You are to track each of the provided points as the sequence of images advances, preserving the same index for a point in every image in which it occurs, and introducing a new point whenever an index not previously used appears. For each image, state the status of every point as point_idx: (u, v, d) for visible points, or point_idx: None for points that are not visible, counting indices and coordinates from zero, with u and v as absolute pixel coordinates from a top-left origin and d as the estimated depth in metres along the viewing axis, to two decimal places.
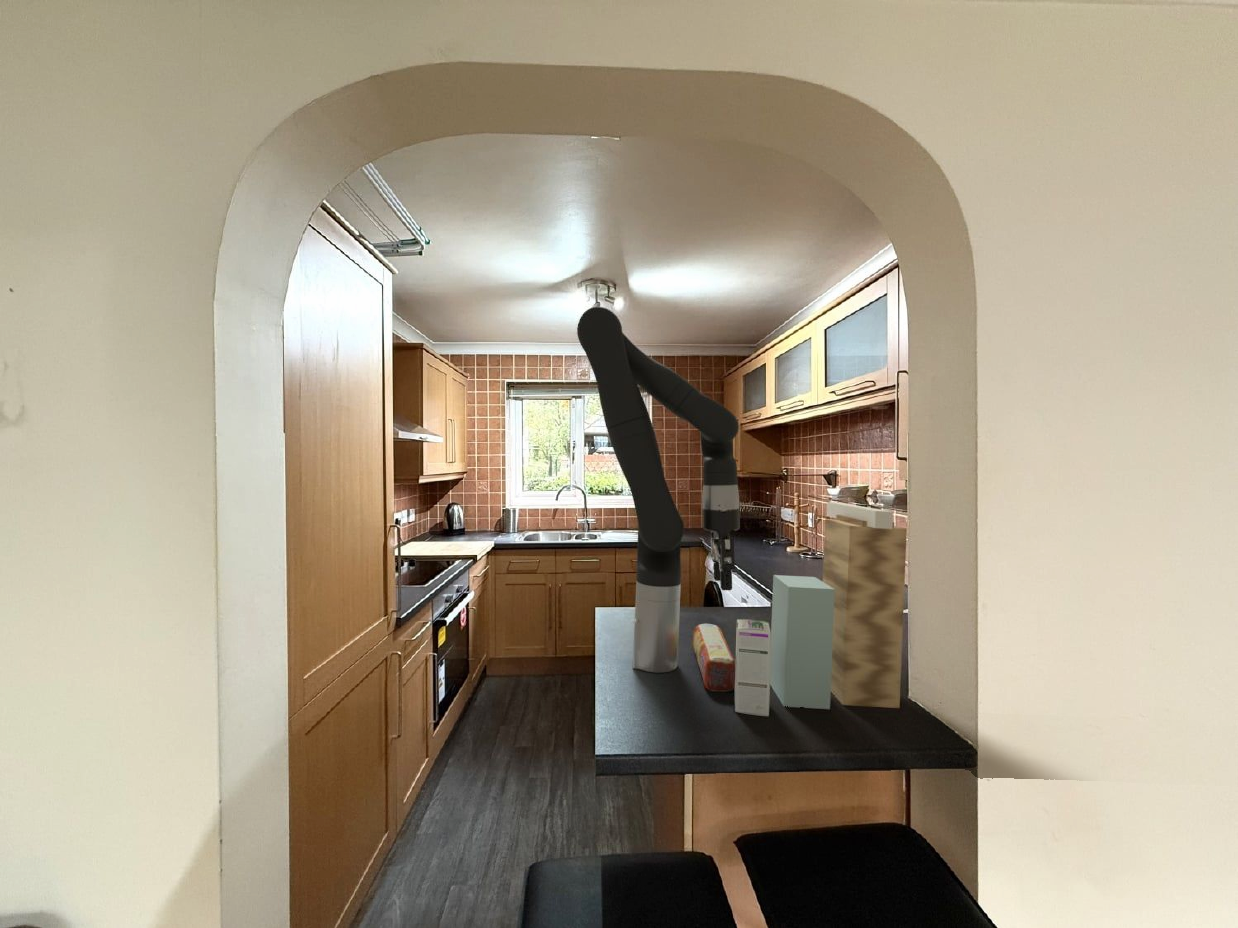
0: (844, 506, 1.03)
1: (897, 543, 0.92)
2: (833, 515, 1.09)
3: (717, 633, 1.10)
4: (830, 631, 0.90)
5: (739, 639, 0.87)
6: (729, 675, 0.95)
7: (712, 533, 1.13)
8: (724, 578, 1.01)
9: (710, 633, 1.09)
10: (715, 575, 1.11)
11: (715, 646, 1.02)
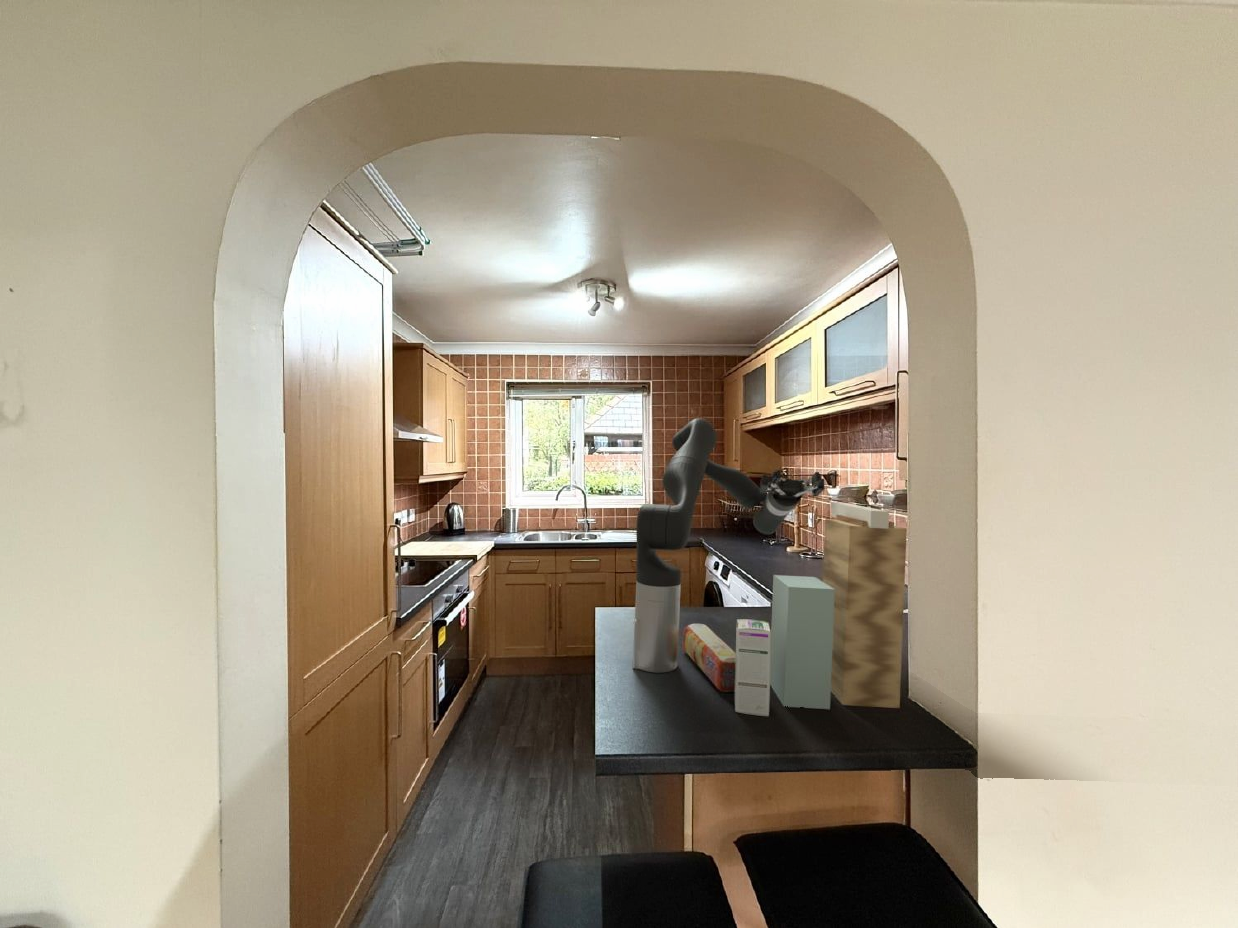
0: (845, 506, 1.04)
1: (897, 543, 0.92)
2: None
3: (711, 632, 1.10)
4: (830, 631, 0.90)
5: (739, 639, 0.87)
6: None
7: None
8: None
9: (706, 633, 1.09)
10: None
11: (719, 646, 1.02)
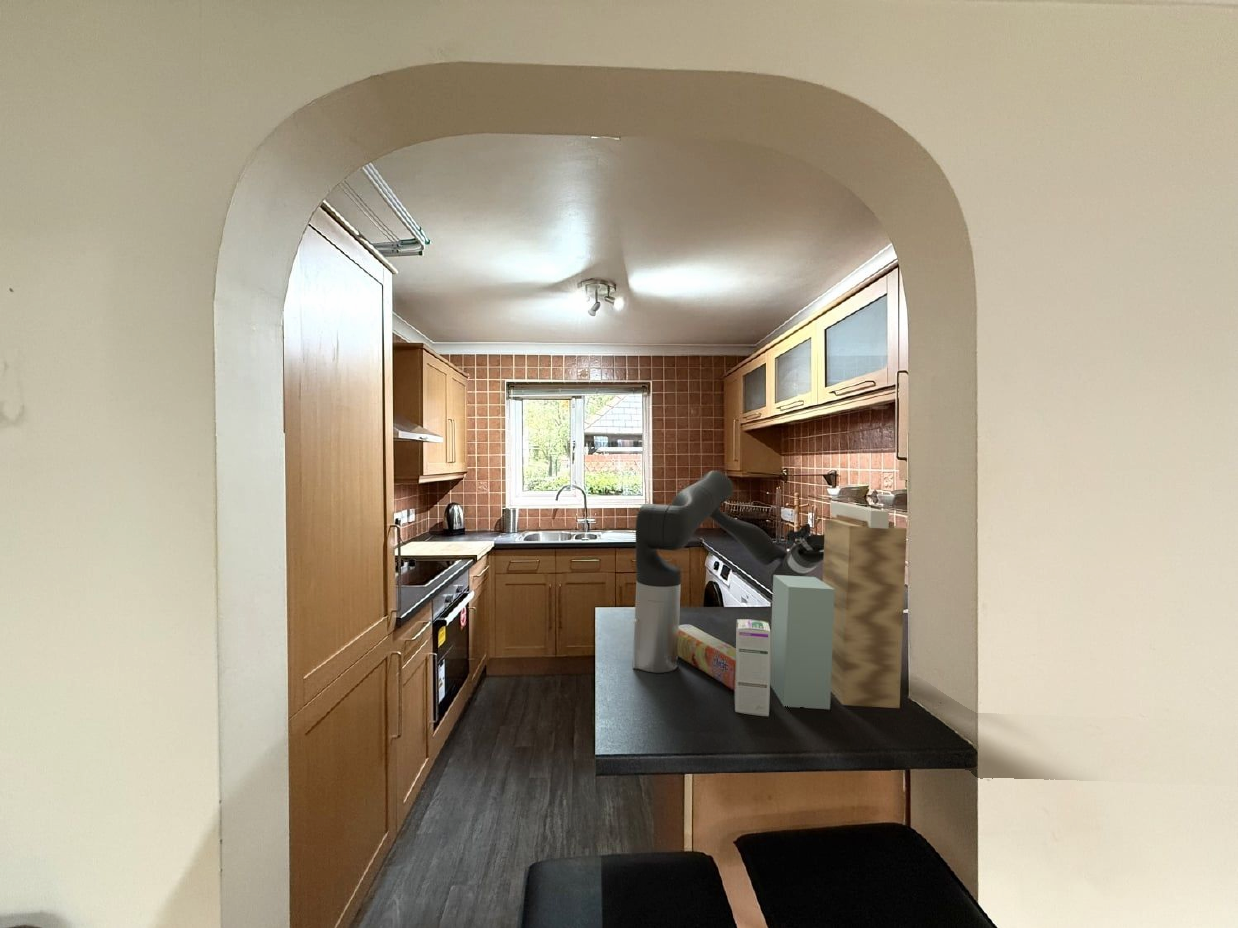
0: (845, 506, 1.04)
1: (897, 543, 0.92)
2: None
3: (703, 632, 1.10)
4: (830, 631, 0.90)
5: (739, 639, 0.87)
6: None
7: None
8: None
9: (700, 634, 1.08)
10: None
11: (723, 646, 1.02)
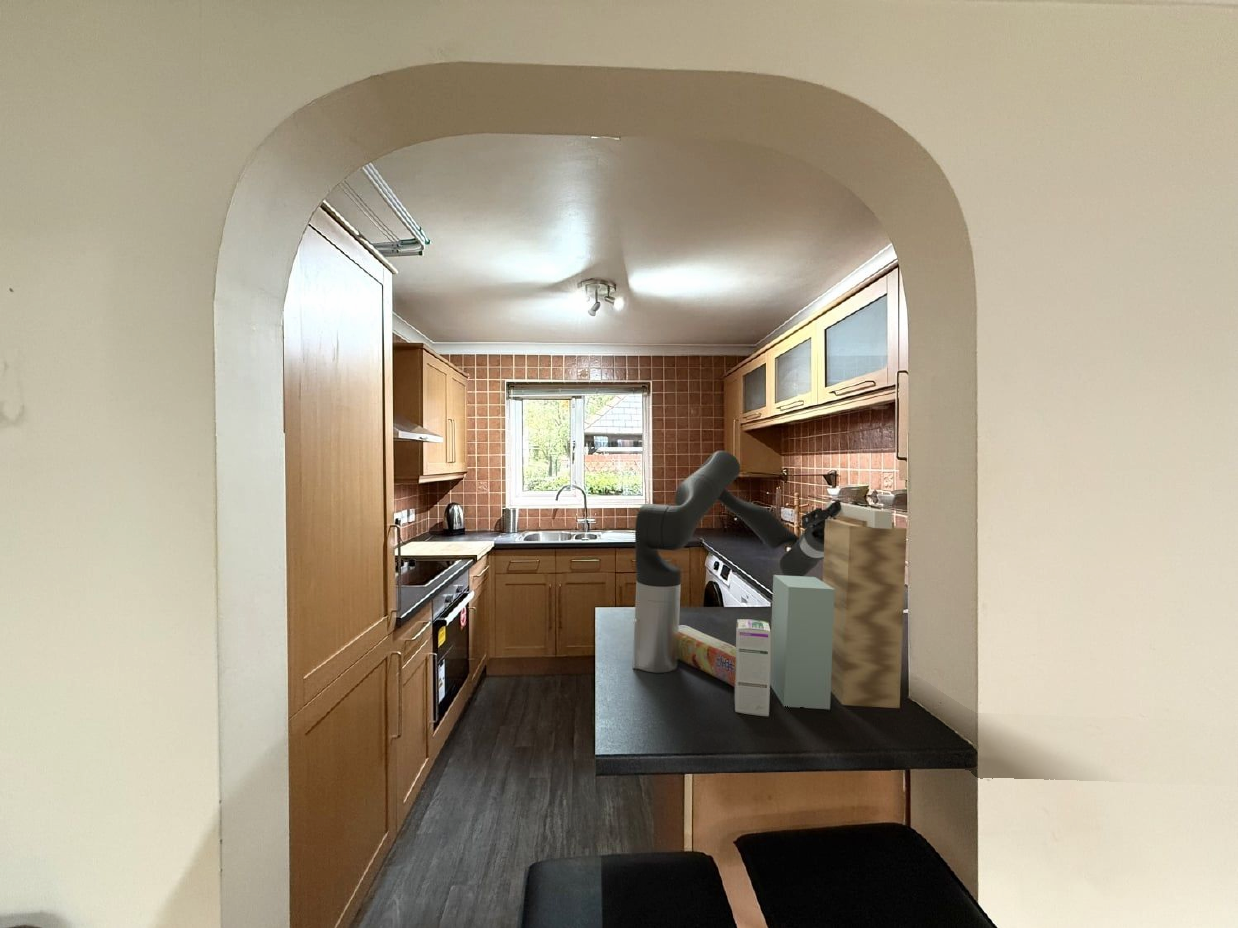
0: (844, 506, 1.04)
1: (897, 543, 0.92)
2: None
3: (701, 632, 1.10)
4: (830, 631, 0.90)
5: (739, 639, 0.87)
6: None
7: None
8: None
9: (699, 634, 1.08)
10: None
11: (725, 645, 1.02)
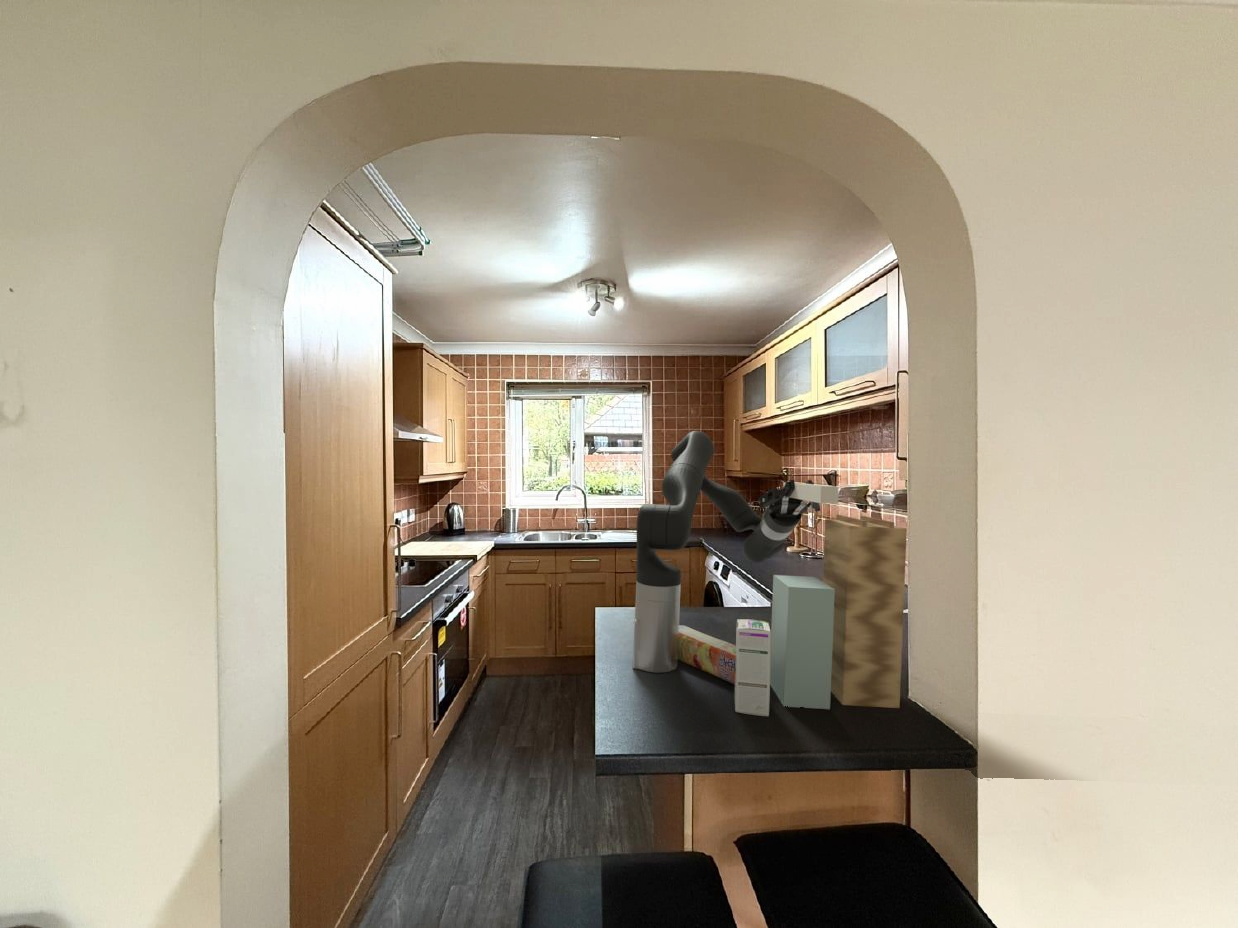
0: (797, 484, 1.03)
1: (897, 543, 0.92)
2: None
3: (700, 632, 1.10)
4: (830, 631, 0.90)
5: (739, 639, 0.87)
6: None
7: None
8: None
9: (699, 634, 1.08)
10: None
11: (726, 645, 1.03)
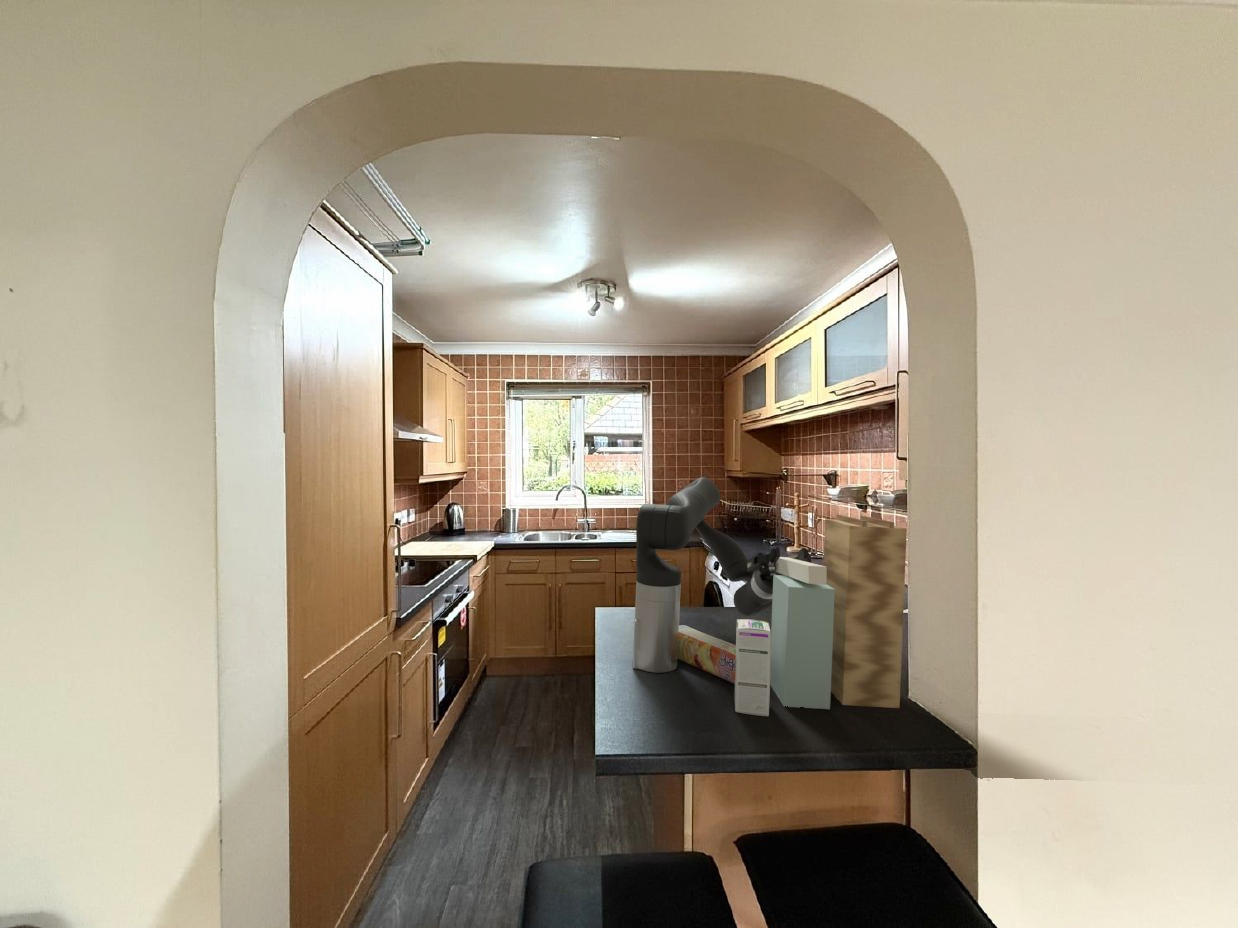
0: (785, 561, 1.01)
1: (897, 543, 0.92)
2: (778, 570, 1.06)
3: (701, 632, 1.10)
4: (830, 631, 0.90)
5: (739, 639, 0.87)
6: None
7: None
8: None
9: (700, 634, 1.08)
10: None
11: (727, 645, 1.03)
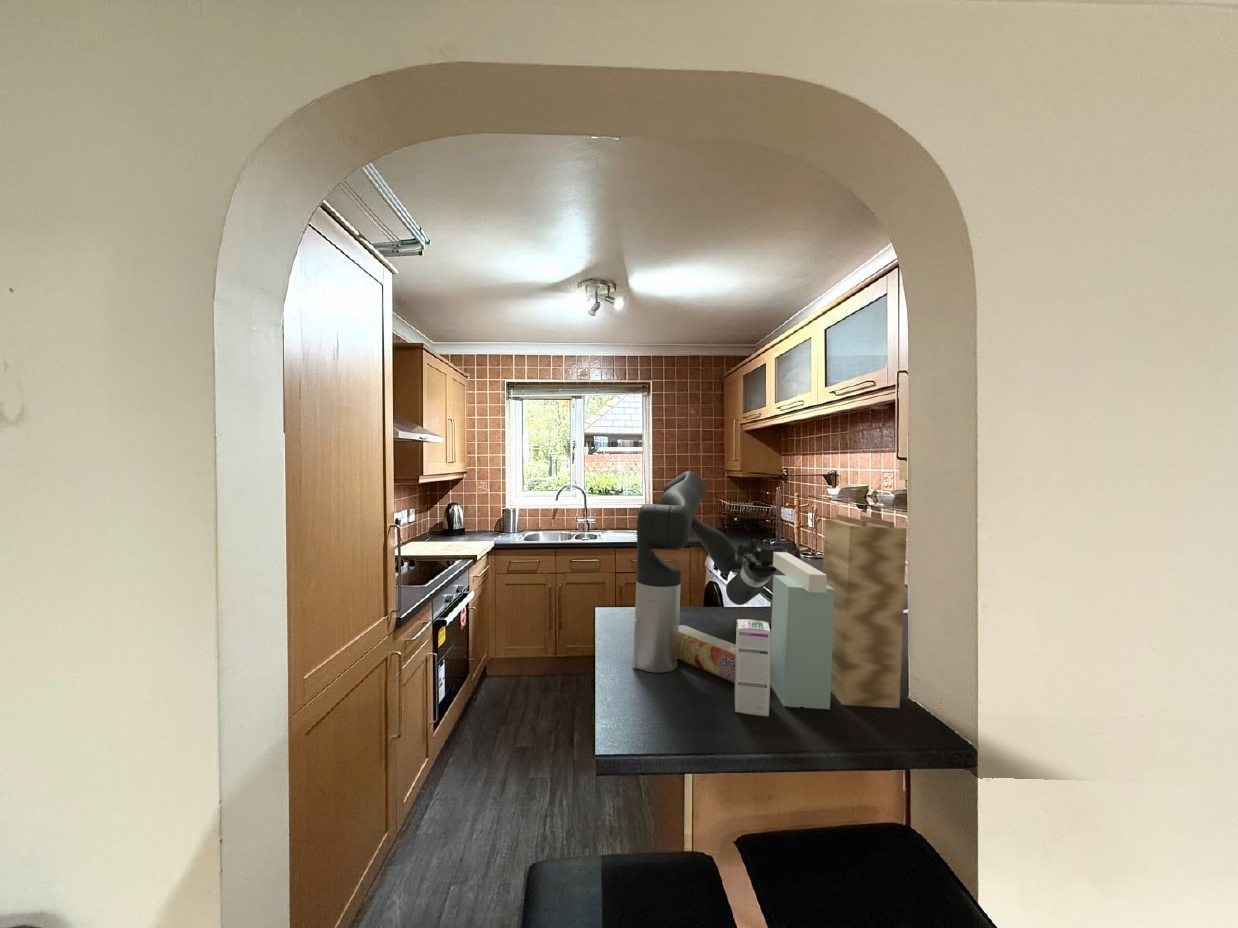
0: (786, 561, 1.01)
1: (897, 543, 0.92)
2: (778, 567, 1.06)
3: (701, 632, 1.10)
4: (830, 631, 0.90)
5: (739, 639, 0.87)
6: None
7: None
8: None
9: (701, 634, 1.08)
10: None
11: (728, 645, 1.03)
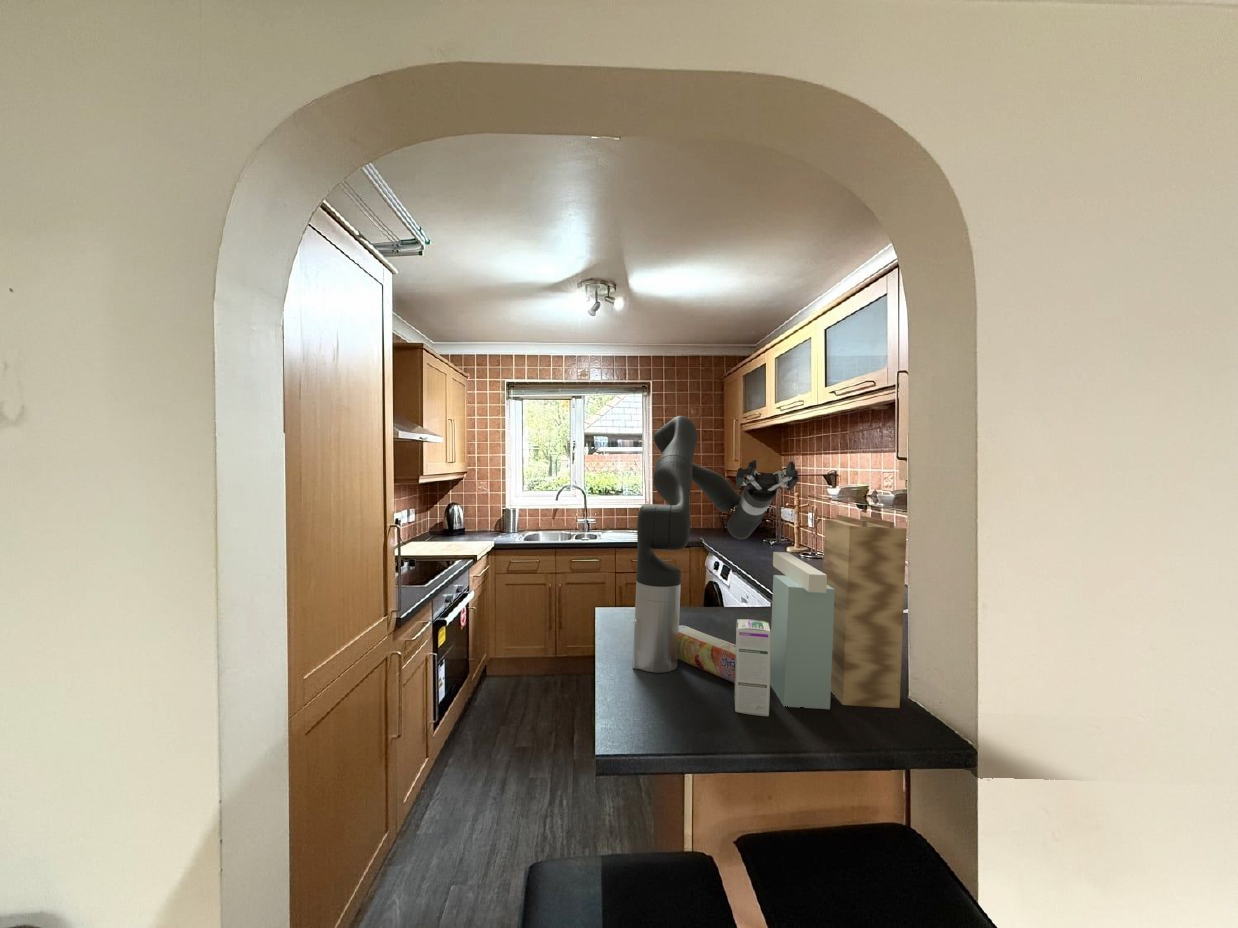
0: (786, 561, 1.01)
1: (897, 543, 0.92)
2: (778, 567, 1.06)
3: (701, 632, 1.10)
4: (830, 631, 0.90)
5: (739, 639, 0.87)
6: None
7: None
8: None
9: (701, 634, 1.08)
10: None
11: (728, 645, 1.03)
